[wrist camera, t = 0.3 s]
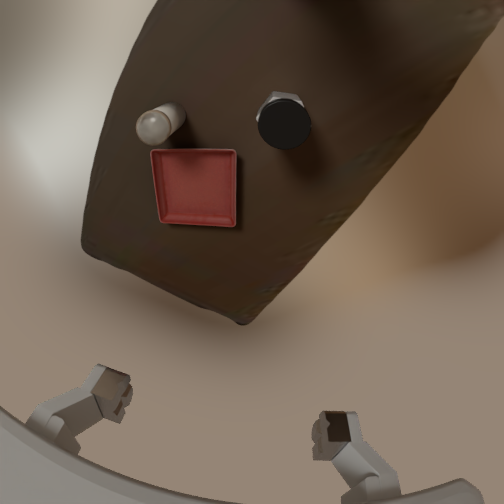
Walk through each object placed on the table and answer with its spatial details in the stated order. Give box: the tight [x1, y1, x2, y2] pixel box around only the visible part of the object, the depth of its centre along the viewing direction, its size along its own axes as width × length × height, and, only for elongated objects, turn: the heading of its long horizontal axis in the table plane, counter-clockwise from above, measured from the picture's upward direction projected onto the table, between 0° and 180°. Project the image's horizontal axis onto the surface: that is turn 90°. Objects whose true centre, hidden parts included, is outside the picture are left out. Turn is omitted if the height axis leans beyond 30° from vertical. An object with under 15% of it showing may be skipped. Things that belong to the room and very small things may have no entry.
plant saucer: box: [150, 149, 237, 227], centre depth 59 cm, size 18×18×3 cm
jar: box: [256, 91, 312, 149], centre depth 44 cm, size 9×8×12 cm
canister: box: [136, 102, 186, 145], centre depth 46 cm, size 6×6×10 cm
